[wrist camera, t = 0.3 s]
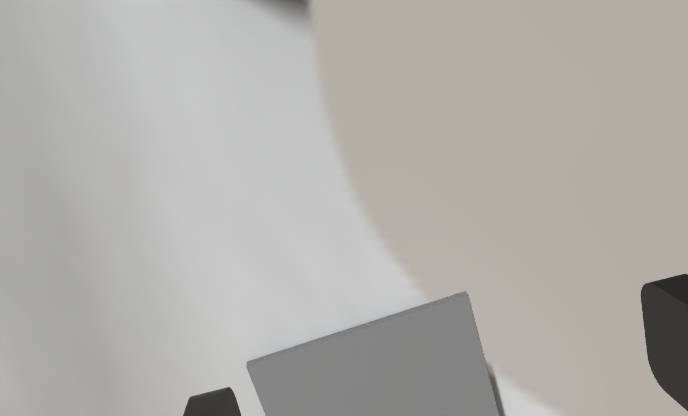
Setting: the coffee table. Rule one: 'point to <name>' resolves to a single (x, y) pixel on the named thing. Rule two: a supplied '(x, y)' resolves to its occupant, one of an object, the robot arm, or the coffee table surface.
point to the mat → (384, 368)
